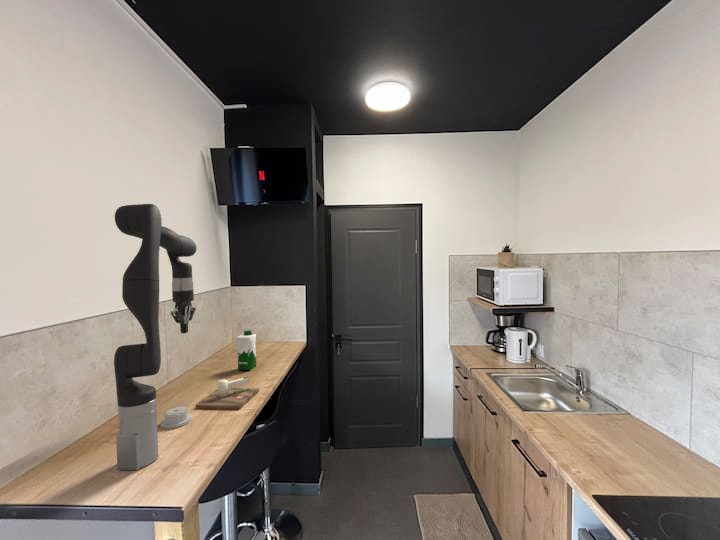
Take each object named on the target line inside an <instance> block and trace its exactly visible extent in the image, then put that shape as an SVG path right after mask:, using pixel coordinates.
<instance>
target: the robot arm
mask: <svg viewBox="0 0 720 540" xmlns="http://www.w3.org/2000/svg"><path fill="white" fill-rule="evenodd" d="M114 222H115V226H116V227H117V229H118V230H119V231H120V232H121V233H122V234H124V235H126V236H130V237H135V238H138V239H141V243H140V248H139V250H138V252H137V254H136V255H135V256H134V257H133V259H132V260H131V262H130V264H128V266H127V268H126V269H125V270H124V273H123V276H122V285H121V286H122V287H121V289H122V290H121V291H122V292H121V293H122V294H121V297H122V301H123V302H124V305H125V306H126V307H127V309H128V311H130V313H131V314H132V315H133V316H134V318H135V319H136V320H137V322H138V323H139V325H140V326H141V329H142V330H143V332H144V335H145V339H146V340H145V342H146V343H145V342H144V343H134V344H125V345H121V346H118V347H117V348H116V350H115V352H114V357H113V366H114V368H113V369H114V377H115V386H116V387H115V388H116V397H117V398H116V400H117V417H118V418H117V420H118V433H117V434H116V436H115V444H116V466H117V467H116V469H117V470H120V471H121V470H124V471H125V470H128V471H138V470H140V469H141V468H143V467H146V466H148V465H150V464H152V463H153V461H154V462H155V461H156V460H158V458H159V434H158V433H159V431H158V412H157V410H158V408H157V407H158V406H157V405H158V402H157V390H156V388H155V386H153V385H149V384H144V383H141V382H139V381H137V380H135V379H134V378H142V377H150V376H156V375H158V373H159V371H160V369H161V364H162V363H161V362H162V361H161V360H162V359H161V357H162V356H161V355H162V354H161V352H162V351H161V340H160V339H161V338H160V325H159V324H160V322H159V319H160V318H159V316H160V315H159V314H160V313H159V311H160V310H159V309H160V272H159V271H160V260H159V259H160V247H161V248H162V249H164V250H166V254H167V257H168V259H169V262H170V266H171V270H172V271H171V273H172V274H171V275H172V276H171V277H172V278H171V279H172V281H171V291H172V292H171V293H172V294H171V295H172V300H171V301H172V302H173V303H175V305H174V310H173V311H172V310H171V311H170V315H171V316H172V319H173V320H174V321H175V323H176V324H179V325H180V326H179V329H180V334H187V333H189V323H190V322H191V321H192V320H193V317H194V315H195V313H196V307H193V306H192V305H193V304H192V302H193V301H194V300H195V299H194V298H195V296H194V295H195V293H194V281H193V266H192V264H191V263H188V262H183V261H182V260H181V258H183V257H184V258H189V257H192V256H194V255H195V254H196V252H197V249H198V248H197V243H195V241H194V239H192V238H190V237H187V236H185V235H181V234H179V233H177V232H176V231H174V230H173V229H171V228H169V227H166V226H162V215H161V211H160V209H159V208H158V206H157V205H156V204H153V203H140V204H128V205H127V204H126V205H121V206H120V207H117V209H116V211H115V212H114Z"/></svg>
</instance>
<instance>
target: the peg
mask: <svg viewBox="0 0 720 540" xmlns="http://www.w3.org/2000/svg"><path fill="white" fill-rule="evenodd" d="M216 384H217V389H218V397H226V396H228V389H231V388H240V387H242V386H245V385H249V376H245V377H244V376H243V377H242V378H238V379H234V380H228V379H227V378H226V379H220V380H217V382H216Z"/></svg>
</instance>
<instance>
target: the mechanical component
mask: <svg viewBox="0 0 720 540" xmlns="http://www.w3.org/2000/svg"><path fill="white" fill-rule="evenodd" d="M163 416H164V417H163V419H162V420H161V421H160V428H162V429H168V430H170V429H177V428H181V427H184V426H187V425H188V424H190V423H191V422H192V421H193V414H191V413H190V412H189V408H187V407H186V406H179V407H174V408H169V409H167V411H165V413H163Z"/></svg>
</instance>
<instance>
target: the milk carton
mask: <svg viewBox="0 0 720 540" xmlns="http://www.w3.org/2000/svg"><path fill="white" fill-rule="evenodd" d="M256 337H257V334H256V333H253V332H252V330H249V329H248V330H244V331H243V333H242V334H241V335H238V336H236V337H235V339H236V343H237V345H236V346H237V347H236V348H237V371H238V370H251V369H253V368H254V367H256V368H257V348H256V347H257V346H256V340H257V338H256ZM254 369H255V368H254ZM254 369H253V370H254ZM251 371H252V370H251Z"/></svg>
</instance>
